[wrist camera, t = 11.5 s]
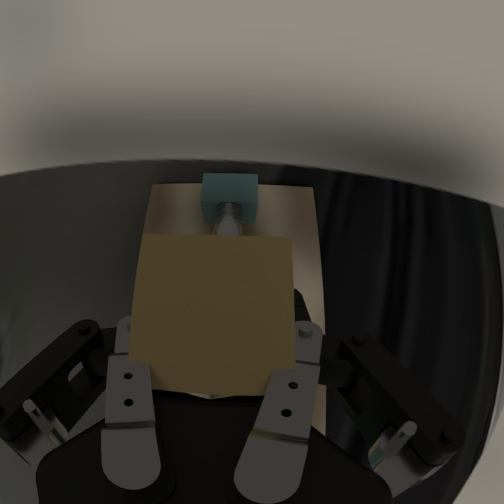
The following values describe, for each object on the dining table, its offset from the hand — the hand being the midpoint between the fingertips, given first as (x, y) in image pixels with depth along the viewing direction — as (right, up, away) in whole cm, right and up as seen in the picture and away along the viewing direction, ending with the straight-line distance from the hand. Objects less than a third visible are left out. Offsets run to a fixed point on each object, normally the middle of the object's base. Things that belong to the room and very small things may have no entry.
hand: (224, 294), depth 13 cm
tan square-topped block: (0, -3, +3) cm, 5 cm away
